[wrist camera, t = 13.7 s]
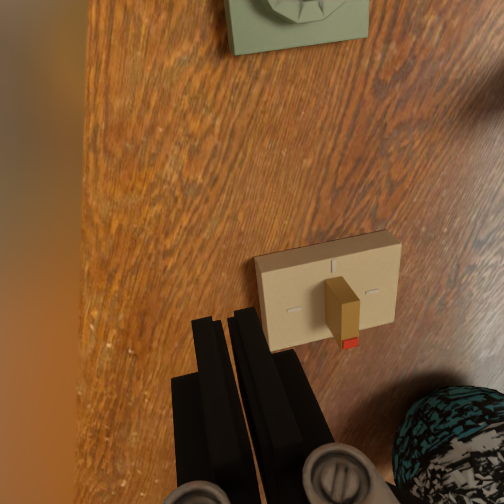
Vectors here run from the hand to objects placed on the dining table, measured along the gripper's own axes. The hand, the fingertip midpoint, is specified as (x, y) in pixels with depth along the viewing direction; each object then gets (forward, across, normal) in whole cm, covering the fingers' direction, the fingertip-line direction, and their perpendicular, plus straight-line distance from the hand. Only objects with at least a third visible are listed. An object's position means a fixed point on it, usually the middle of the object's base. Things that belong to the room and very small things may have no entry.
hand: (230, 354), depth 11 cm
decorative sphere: (+25, -28, +44) cm, 58 cm away
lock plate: (+25, -12, +18) cm, 33 cm away
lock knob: (+22, -12, +18) cm, 31 cm away
